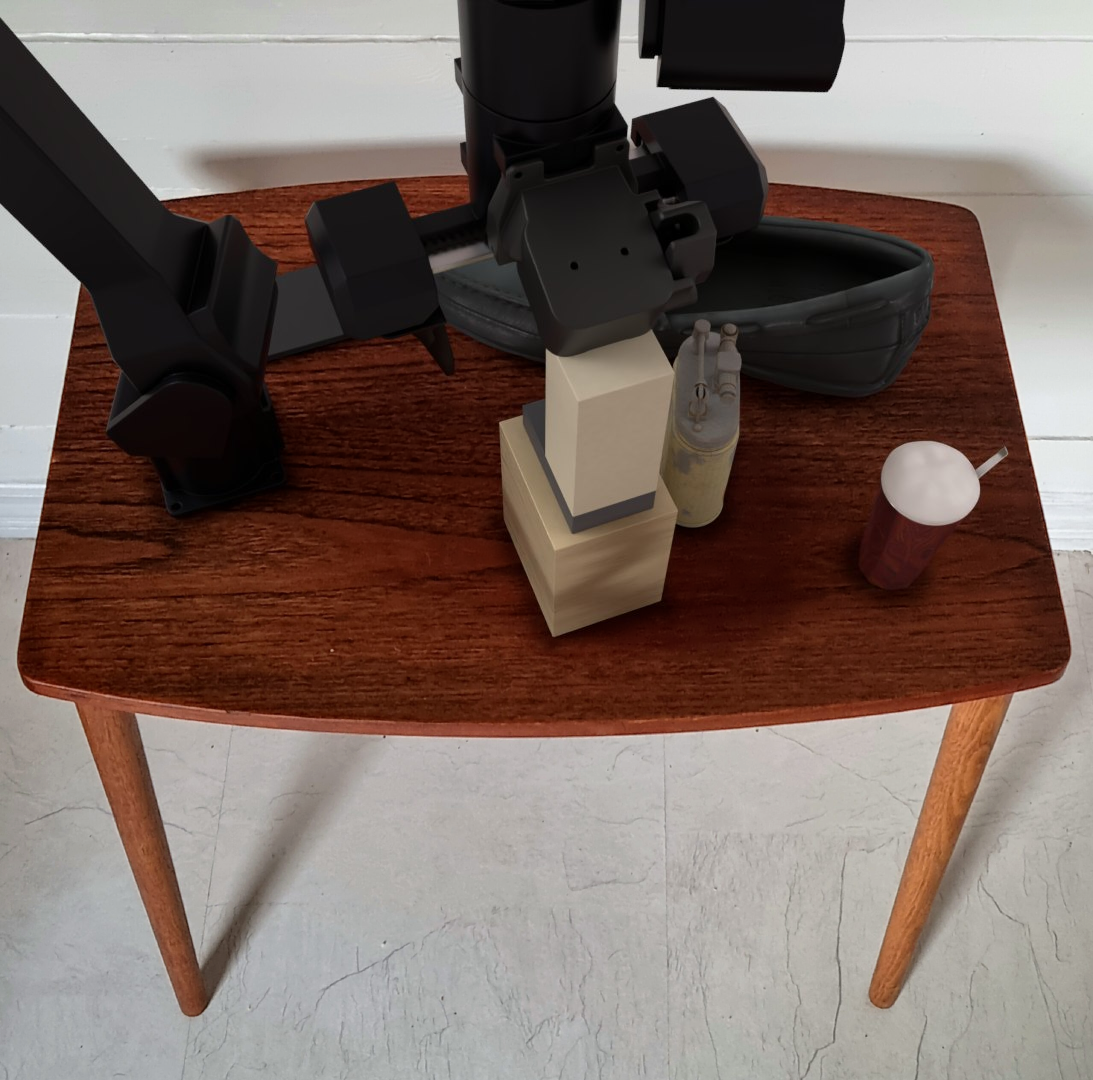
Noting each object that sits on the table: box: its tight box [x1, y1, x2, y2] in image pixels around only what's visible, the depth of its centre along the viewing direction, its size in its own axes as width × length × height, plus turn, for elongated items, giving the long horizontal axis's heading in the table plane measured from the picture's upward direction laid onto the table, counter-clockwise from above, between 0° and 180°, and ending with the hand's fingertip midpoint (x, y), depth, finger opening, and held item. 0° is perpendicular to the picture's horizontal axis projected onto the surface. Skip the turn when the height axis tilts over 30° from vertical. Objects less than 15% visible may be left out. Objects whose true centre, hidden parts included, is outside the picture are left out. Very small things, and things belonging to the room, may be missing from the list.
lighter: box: [659, 319, 741, 528], centre depth 63 cm, size 7×4×10 cm, turn 176°
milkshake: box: [858, 440, 1009, 591], centre depth 60 cm, size 4×5×10 cm
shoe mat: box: [267, 264, 352, 362], centre depth 73 cm, size 12×6×1 cm, turn 111°
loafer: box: [433, 215, 935, 398], centre depth 68 cm, size 10×29×10 cm, turn 85°
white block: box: [522, 329, 674, 534], centre depth 52 cm, size 4×6×10 cm, turn 21°
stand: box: [498, 414, 678, 638], centre depth 60 cm, size 6×8×9 cm
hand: (538, 341), depth 58 cm, fingers open, 9 cm apart
